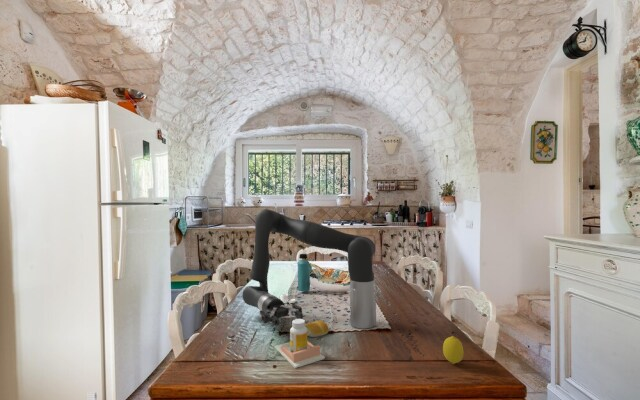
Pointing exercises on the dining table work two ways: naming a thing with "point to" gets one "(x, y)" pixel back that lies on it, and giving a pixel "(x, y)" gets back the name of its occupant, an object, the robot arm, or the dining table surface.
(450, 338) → the lemon
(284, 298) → the teacup and saucer
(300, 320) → the supplement bottle
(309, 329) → the bread roll
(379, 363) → the dining table surface
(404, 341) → the dining table surface
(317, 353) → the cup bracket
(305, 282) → the beverage bottle
